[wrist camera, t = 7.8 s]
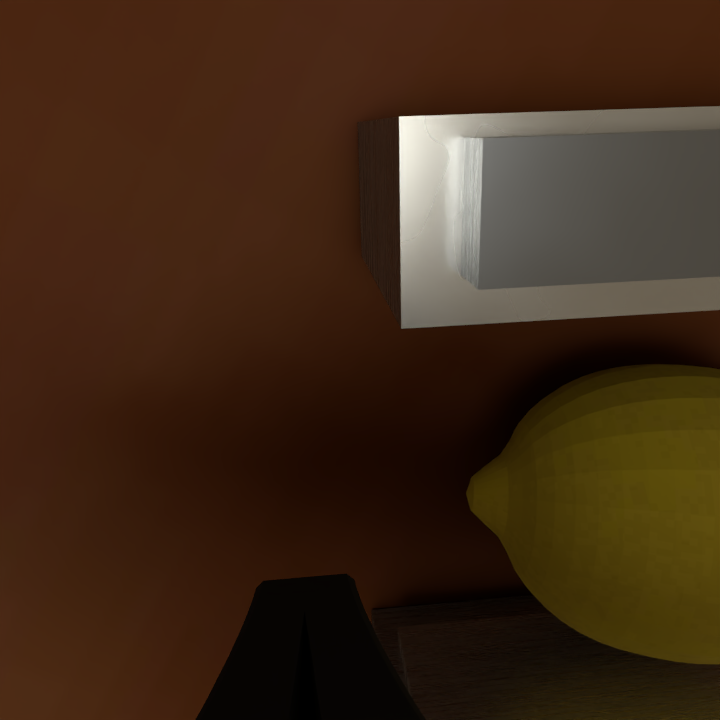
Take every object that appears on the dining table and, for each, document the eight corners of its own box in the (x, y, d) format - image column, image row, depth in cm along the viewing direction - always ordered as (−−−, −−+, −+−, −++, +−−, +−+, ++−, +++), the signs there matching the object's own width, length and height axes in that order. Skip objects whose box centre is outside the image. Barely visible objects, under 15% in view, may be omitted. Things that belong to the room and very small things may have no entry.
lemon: (492, 319, 10) (999, 345, 10) (454, 382, 16) (784, 401, 16) (485, 684, 9) (1062, 728, 9) (447, 618, 15) (805, 644, 14)
